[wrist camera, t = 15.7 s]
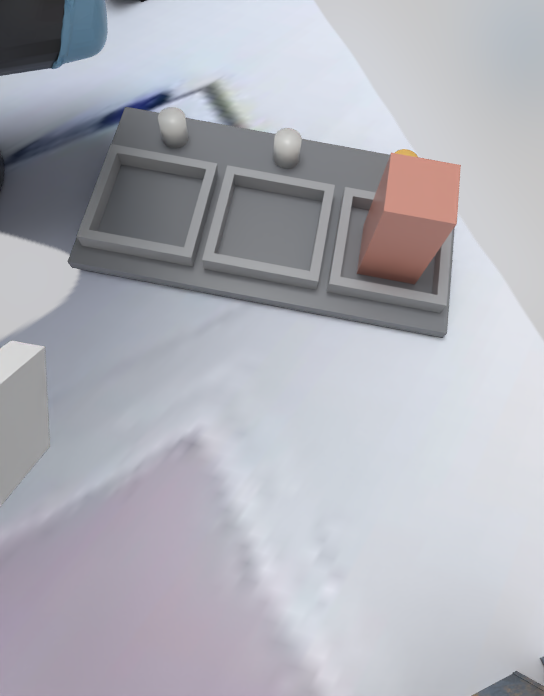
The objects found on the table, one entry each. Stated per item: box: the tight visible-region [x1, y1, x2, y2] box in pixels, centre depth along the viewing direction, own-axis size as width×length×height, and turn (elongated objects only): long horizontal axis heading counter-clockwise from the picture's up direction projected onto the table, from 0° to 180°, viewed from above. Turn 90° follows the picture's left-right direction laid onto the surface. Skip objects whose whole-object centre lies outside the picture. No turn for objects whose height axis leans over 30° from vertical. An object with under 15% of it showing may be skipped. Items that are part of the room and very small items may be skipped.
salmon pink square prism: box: [357, 153, 461, 284], centre depth 39 cm, size 5×5×9 cm
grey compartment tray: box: [68, 107, 454, 337], centre depth 43 cm, size 32×17×3 cm, turn 79°
